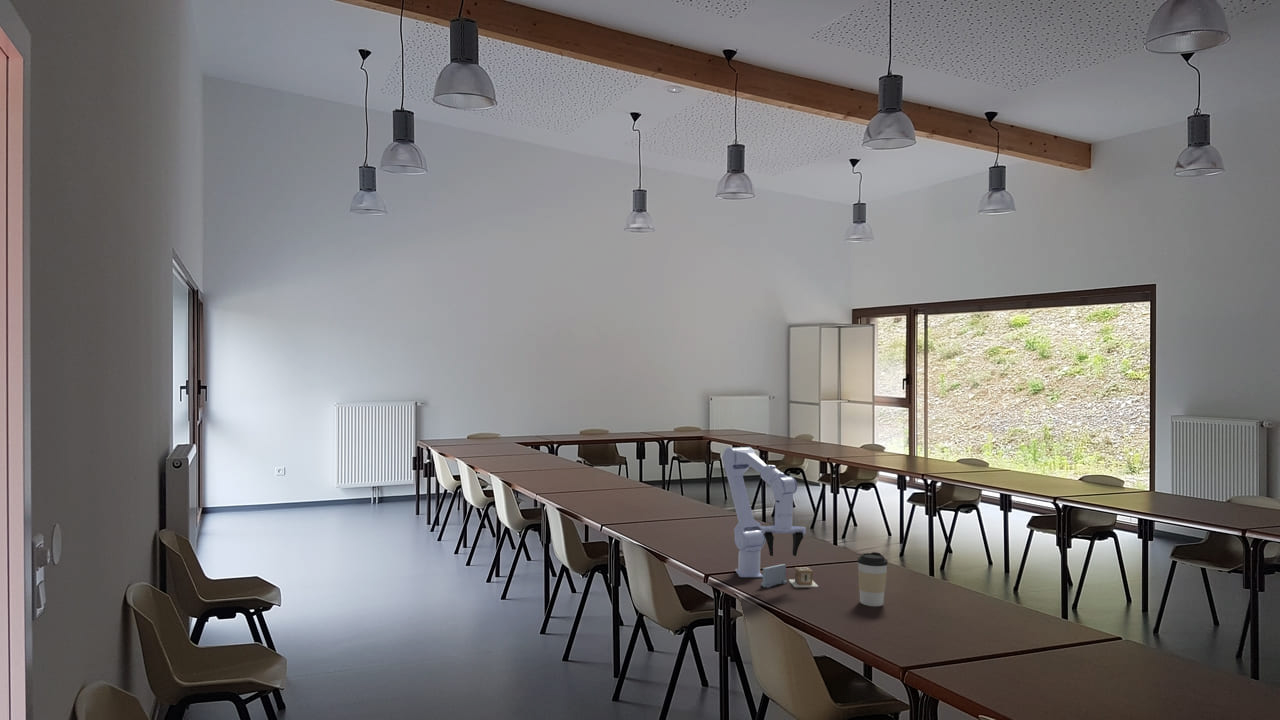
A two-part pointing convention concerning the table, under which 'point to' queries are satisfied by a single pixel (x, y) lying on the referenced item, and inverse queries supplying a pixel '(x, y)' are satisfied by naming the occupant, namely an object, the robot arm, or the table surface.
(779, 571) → the screen
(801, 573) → the letter cube
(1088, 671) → the table surface
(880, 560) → the coffee cup
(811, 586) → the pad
